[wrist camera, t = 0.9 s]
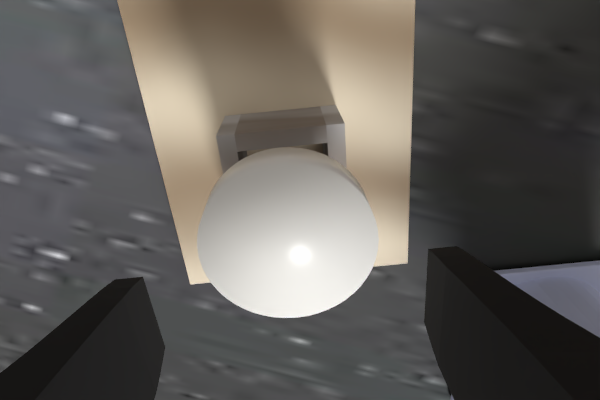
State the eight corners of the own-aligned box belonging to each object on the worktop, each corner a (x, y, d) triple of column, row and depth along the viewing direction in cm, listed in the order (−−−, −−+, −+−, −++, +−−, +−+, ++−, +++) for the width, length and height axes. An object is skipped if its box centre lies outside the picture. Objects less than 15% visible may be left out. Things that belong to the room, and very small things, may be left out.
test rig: (401, 251, 20) (424, 298, 17) (194, 271, 20) (178, 322, 17) (416, -435, 11) (472, -612, 8) (29, -395, 11) (-74, -552, 8)
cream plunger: (357, 240, 16) (379, 309, 12) (229, 252, 16) (215, 325, 12) (353, 113, 13) (378, 154, 10) (204, 128, 13) (178, 173, 10)
